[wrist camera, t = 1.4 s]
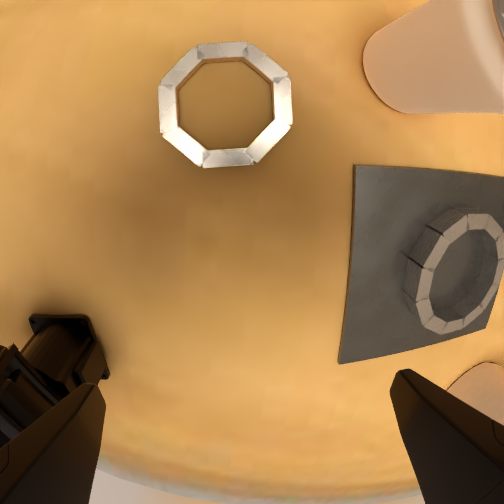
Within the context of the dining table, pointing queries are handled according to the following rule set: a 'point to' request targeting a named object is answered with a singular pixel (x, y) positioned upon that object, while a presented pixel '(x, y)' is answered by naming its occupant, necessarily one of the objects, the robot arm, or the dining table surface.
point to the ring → (224, 54)
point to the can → (440, 58)
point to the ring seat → (420, 258)
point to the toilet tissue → (482, 390)
